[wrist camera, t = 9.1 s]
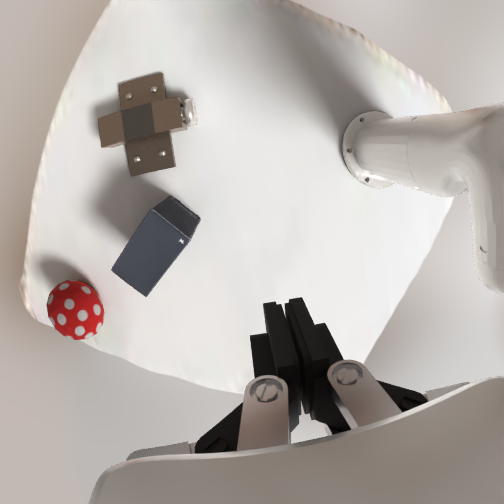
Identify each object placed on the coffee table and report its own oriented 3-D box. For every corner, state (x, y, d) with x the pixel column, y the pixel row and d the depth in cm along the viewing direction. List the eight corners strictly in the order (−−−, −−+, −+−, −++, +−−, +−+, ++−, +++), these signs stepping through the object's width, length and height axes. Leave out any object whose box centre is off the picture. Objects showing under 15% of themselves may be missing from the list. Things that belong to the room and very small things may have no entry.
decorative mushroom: (55, 362, 41) (63, 340, 33) (36, 310, 43) (40, 274, 35) (100, 346, 50) (121, 321, 42) (80, 299, 52) (96, 264, 44)
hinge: (179, 70, 34) (174, 62, 30) (192, 163, 39) (187, 165, 35) (106, 90, 34) (94, 86, 30) (118, 179, 39) (107, 183, 35)
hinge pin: (194, 100, 36) (190, 95, 32) (198, 126, 37) (194, 123, 34) (109, 121, 36) (99, 119, 32) (113, 145, 37) (102, 146, 33)
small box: (169, 192, 41) (150, 205, 31) (202, 218, 43) (194, 239, 33) (132, 244, 43) (108, 270, 33) (163, 268, 45) (147, 299, 35)
